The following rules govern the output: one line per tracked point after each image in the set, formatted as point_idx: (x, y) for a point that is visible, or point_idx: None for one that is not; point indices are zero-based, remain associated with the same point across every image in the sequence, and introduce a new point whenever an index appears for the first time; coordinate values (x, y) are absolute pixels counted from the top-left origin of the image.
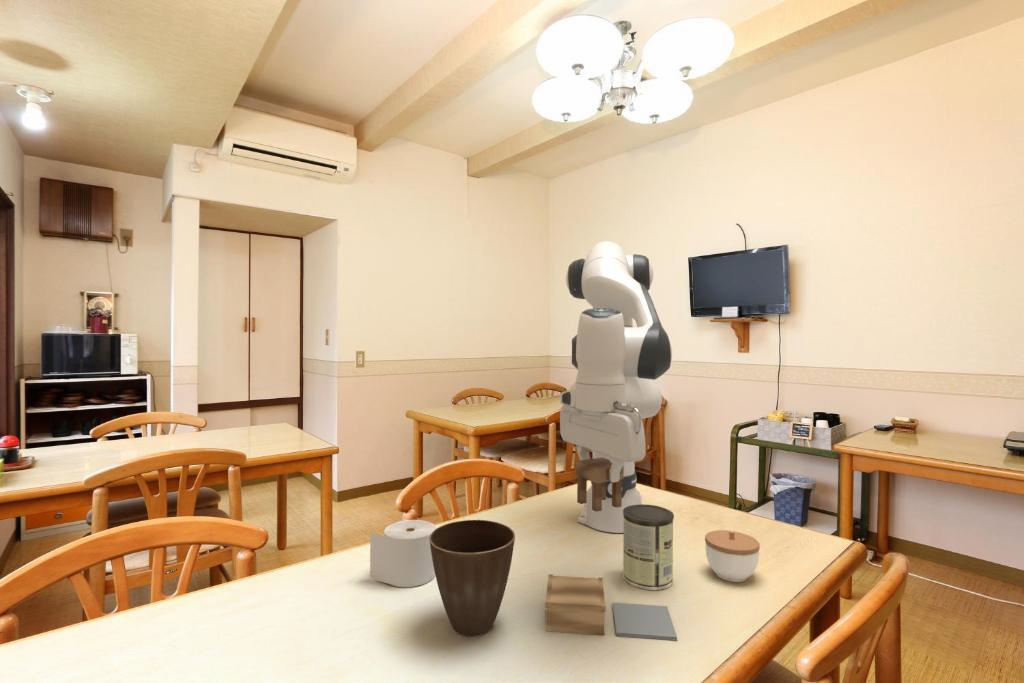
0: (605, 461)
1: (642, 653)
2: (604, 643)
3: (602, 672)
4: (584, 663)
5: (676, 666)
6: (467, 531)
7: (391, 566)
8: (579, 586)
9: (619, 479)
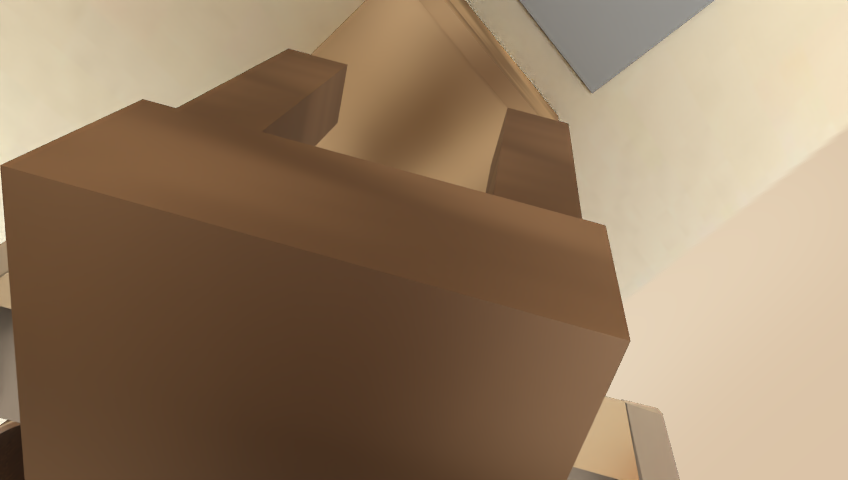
0: (257, 358)
1: (710, 108)
2: (584, 152)
3: (657, 264)
4: None
5: (837, 87)
6: (7, 442)
7: None
8: (392, 96)
9: (660, 412)
